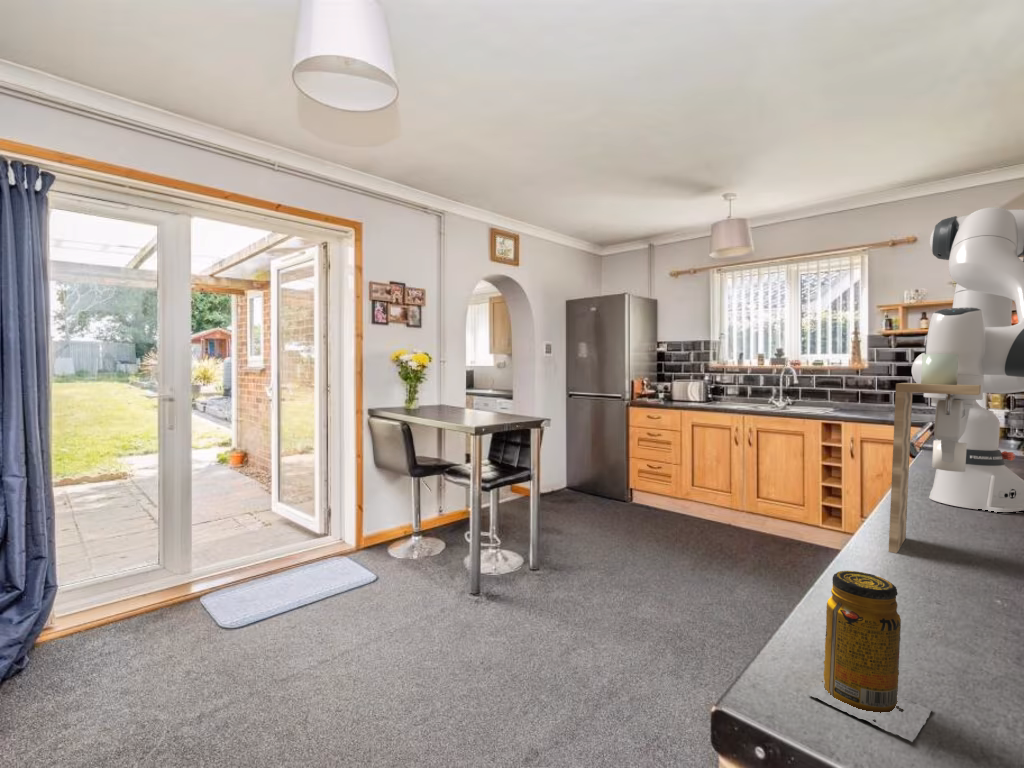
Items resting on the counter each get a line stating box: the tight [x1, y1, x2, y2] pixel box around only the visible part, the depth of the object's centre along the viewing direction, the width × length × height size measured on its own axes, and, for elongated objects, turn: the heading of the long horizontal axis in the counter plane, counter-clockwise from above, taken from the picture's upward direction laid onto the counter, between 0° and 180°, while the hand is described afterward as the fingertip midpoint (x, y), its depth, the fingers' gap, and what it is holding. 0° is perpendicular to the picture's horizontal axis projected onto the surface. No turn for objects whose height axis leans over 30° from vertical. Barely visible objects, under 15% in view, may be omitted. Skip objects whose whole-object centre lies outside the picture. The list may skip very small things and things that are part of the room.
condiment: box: [823, 570, 902, 713], centre depth 50 cm, size 7×8×12 cm
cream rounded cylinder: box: [931, 439, 967, 472], centre depth 101 cm, size 5×5×5 cm
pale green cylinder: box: [921, 353, 959, 385], centre depth 92 cm, size 5×5×5 cm
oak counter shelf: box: [888, 382, 981, 554], centre depth 93 cm, size 12×11×30 cm
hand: (948, 459), depth 101 cm, fingers closed on cream rounded cylinder, 5 cm apart
